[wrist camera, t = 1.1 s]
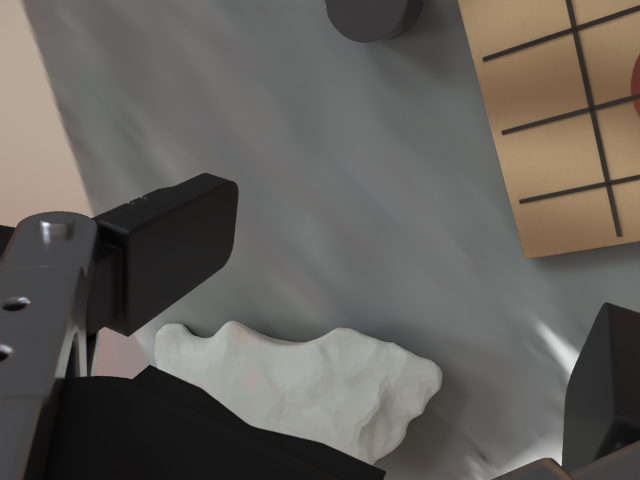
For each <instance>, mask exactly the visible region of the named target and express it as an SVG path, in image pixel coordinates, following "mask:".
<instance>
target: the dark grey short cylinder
mask: <svg viewBox="0 0 640 480" xmlns="http://www.w3.org/2000/svg"><path fill="white" fill-rule="evenodd" d="M324 1H325V7H326V11H327V14H328V17H329V19H330V21H331V23H332V24H333V26H334V27H335V28H336V29H337V30H338V31H339V32H340V33H341V34H342V35H343V36H345V37H346V38H348V39H351V40H353V41H356V42H374V41H380V40H385V39H391V38H394V37H397V36H399V35H401V34H402V33H404V32H405V31H407V30H408V29H409V28H410V27H411V26H412V25H413V23H414V22H415V21H416V19H417V17H418V15H419V13H420V11H421V8H422V4H423V0H324Z"/></svg>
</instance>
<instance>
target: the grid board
mask: <svg viewBox="0 0 640 480" xmlns="http://www.w3.org/2000/svg"><path fill="white" fill-rule="evenodd" d="M458 4H459V8H460V11H461V15H462V19H463V23H464V27H465V31H466V34H467V38H468V42H469V46H470V50H471V54H472V57H473V61H474V65H475V69H476V73H477V77H478V80H479V84H480V88H481V92H482V96H483V100H484V104H485V107H486V111H487V115H488V119H489V123H490V127H491V130H492V134H493V138H494V142H495V146H496V150H497V153H498V157H499V161H500V165H501V169H502V173H503V176H504V180H505V184H506V188H507V192H508V196H509V199H510V203H511V207H512V211H513V215H514V219H515V222H516V226H517V230H518V234H519V238H520V242H521V245H522V249H523V253H524V257H525V259H532V258H538V257H544V256H551V255H557V254H563V253H570V252H576V251H582V250H588V249H595V248H601V247H607V246H613V245H620V244H626V243H632V242H639V241H640V0H458Z"/></svg>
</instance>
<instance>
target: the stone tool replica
mask: <svg viewBox="0 0 640 480" xmlns="http://www.w3.org/2000/svg"><path fill="white" fill-rule="evenodd" d="M154 351H155V359H156V364H157V368H158V369H160V370H162V371H165V372H167V373H169V374H171V375H173V376H176V377H178V378H180V379H182V380H185V381H187V382H189V383H191V384H193V385H196V386H198V387H200V388H202V389H203V390H205V391H206V392H207V393H209V394H210V395H211V396H212V397H214V398H215V399H216V400H218V401H219V402H220V403H221V404H223V405H224V406H225V407H227V408H228V409H229V410H231V411H232V412H233V413H234V414H236V415H237V416H238V417H240V418H241V419H242V420H243V421H245V422H246V423H248V424H249V425H251V426H254V427H257V428H261V429H265V430H270V431H274V432H278V433H283V434H287V435H291V436H295V437H300V438H304V439H308V440H313V441H317V442H321V443H324V444H326V445H328V446H330V447H333V448H335V449H337V450H339V451H341V452H344V453H346V454H348V455H350V456H352V457H355V458H357V459H359V460H361V461H363V462H366V463H368V464H370V465H373V464H374V463H375V462H376V461H377V460H379V459H380V458H382V457H384V456H386V455H388V454H389V453H390V452H392V451H393V450H394V449H395V448H397V447H398V446H399V445H400V443H401V442H402V441H403V439H404V438H405V435H406V430H407V426H408V424H409V422H410V421H411V419H413V418H415V417H417V416H419V415H421V414H422V413H423V412H424V409H425V407H426V404H427V403H428V401H429V400H430V399H431V397H432V396H433V395H434V394H435V393H437V392H438V391H439V390H440V388H441V385H442V375H443V373H442V371H441V369H440V367H439V366H438V365H437V364H435V363H434V362H432V361H431V360H428V359H425V358H422V357H420V356H417V355H415V354H414V353H412V352H410V351H408V350H405V349H404V348H402V347H400V346H399V345H397V344H395V343H393V342H384V341H381V340H379V339H376V338H373V337H369V336H367V335H364V334H362V333H360V332H359V331H356V330H353V329H350V328H336V329H334V330H333V331H331V332H329V333H328V334H326V335H324V336H322V337H319V338H317V339H314V340H311V341H309V342H290V341H285V340H279V339H274V338H271V337H268V336H266V335H263V334H261V333H259V332H257V331H255V330H253V329H251V328H249V327H247V326H245V325H243V324H241V323H239V322H236V321H230V322H227V323H226V324H225V325H223V327H222V328H221V329H220V330H219V331H218V332H217V333H216V334H215V335H214V336H213V337H210V338H201V337H198V336H194V335H193V334H191V333H190V331H189V330H188V329H187V328H186V327H185V326H184V325H183V324H166V325H165V326H163V327H162V328H161V329H160V330H159V331H158V332H157V334H156V336H155V348H154Z"/></svg>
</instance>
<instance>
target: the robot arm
mask: <svg viewBox="0 0 640 480" xmlns="http://www.w3.org/2000/svg"><path fill="white" fill-rule="evenodd" d="M237 204H238V186H237V184H236V183H235V182H233V181H230V180H227V179H224V178H221V177H217V176H214V175H211V174H208V173H203V174H200V175H198V176H196V177H194V178H191V179H189V180H187V181H185V182H183V183H180V184H178V185H176V186H173V187H167V188H161V189H157V190H155V191H153V192H151V193H148V194H146V195H144V196H142V198H140V197H139V198H137V199H135V200H132V201H130V202H129V204H127V203H125V204H123V205H121V206H119V207H116V208H114V209H112V210H109V211H107V212H105V213H103V214H100V215H98V216H96V217H93V218H89V217H87V216H85V215H82V214H78V213H73V212H62V211H60V212H59V211H58V212H57V211H55V212H45V213H39V214H36V215H32V216H29V217H27V218H25V219H23V220H22V221H20V222H19V223H18V225H17V226H16V228H14V227H8V226H2V225H0V480H384V477H385V474H386V471H383V470H381V469H379V468H377V467H375V466H372V465H370V464H368V463H366V462H363V461H361V460H359V459H357V458H355V457H352V456H350V455H348V454H346V453H344V452H341V451H339V450H337V449H335V448H333V447H330V446H328V445H326V444H324V443H321V442H317V441H313V440H308V439H304V438H300V437H295V436H291V435H287V434H283V433H278V432H274V431H270V430H265V429H261V428H257V427H254V426H251V425H249V424H248V423H246V422H245V421H243V420H242V419H241V418H240V417H238V416H237V415H236V414H234V413H233V412H232V411H231V410H229V409H228V408H227V407H225V406H224V405H223V404H221V403H220V402H219V401H218V400H216V399H215V398H214V397H212V396H211V395H210V394H209V393H207V392H206V391H205V390H203V389H202V388H200V387H198V386H196V385H193V384H191V383H189V382H187V381H185V380H182V379H180V378H178V377H176V376H173V375H171V374H169V373H167V372H165V371H162V370H160V369H158V368H156V367H154V366H151V365H149V366H148V367H147V368H145V369H144V370H143V371H142V372H140V373H139V374H138V375H137V376H136V377H134V378H133V379H128V378H121V377H111V376H94V374H95V367H96V360H97V354H98V347H99V330H100V329H102V328H103V327H107V328H109V329H111V330H114V331H116V332H118V333H121V334H123V335H125V336H127V337H129V336H130V335H131V334H133V333H134V332H135V331H137V330H138V329H140V328H141V327H142V326H144V325H145V324H146V323H148V322H149V321H150V320H152V319H153V318H155V317H156V316H157V315H159V314H160V313H161V312H163V311H164V310H165V309H167V308H168V307H170V306H171V305H172V304H174V303H175V302H176V301H178V300H179V299H180V298H182V297H183V296H185V295H186V294H187V293H189V292H190V291H191V290H193V289H194V288H196V287H197V286H198V285H200V284H201V283H202V282H204V281H205V280H206V279H208V278H209V277H211V276H212V275H213V274H215V273H216V272H217V271H219V270H220V269H221V268H223V266H224V265H225V264H226V263H227V261H228V259H229V257H230V255H231V252H232V249H233V243H234V234H235V224H236V214H237ZM492 480H640V313H638V312H635V311H632V310H629V309H626V308H623V307H619V306H616V305H613V304H610V303H607V302H606V303H604V304H603V306H602V307H601V309H600V311H599V313H598V315H597V317H596V319H595V322H594V324H593V326H592V328H591V331H590V333H589V335H588V337H587V340H586V342H585V344H584V346H583V348H582V351H581V353H580V355H579V357H578V360H577V362H576V364H575V366H574V369H573V371H572V374H571V377H570V380H569V383H568V387H567V391H566V397H565V414H564V433H563V451H562V467H561V466H560V465H559V464H558V463H557V462H556V461H555V460H554V459H552V458H542V459H539V460H536V461H534V462H532V463H529V464H527V465H525V466H522V467H520V468H518V469H515V470H513V471H511V472H508V473H506V474H504V475H501V476H499V477H496V478H494V479H492Z"/></svg>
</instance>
